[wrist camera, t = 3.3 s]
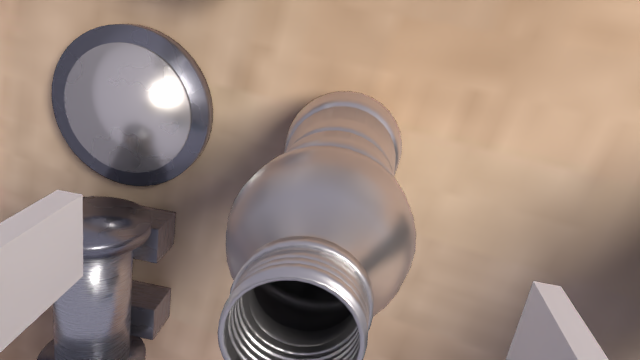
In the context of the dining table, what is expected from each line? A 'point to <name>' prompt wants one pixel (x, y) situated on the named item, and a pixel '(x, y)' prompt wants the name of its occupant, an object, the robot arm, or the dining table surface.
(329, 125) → the plastic bottle
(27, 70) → the dining table surface
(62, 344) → the grey metal parts
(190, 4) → the dining table surface
